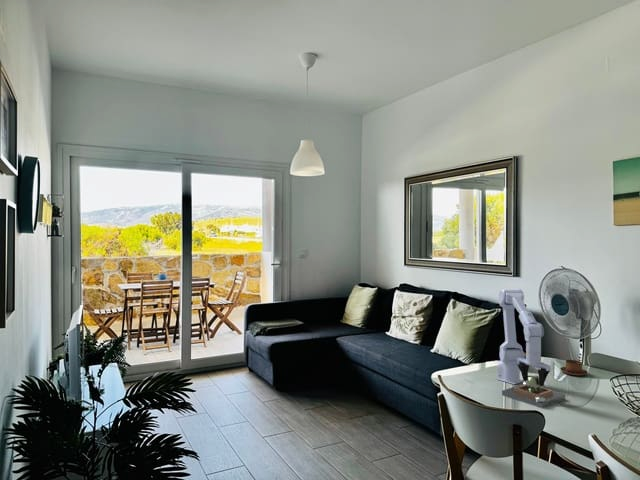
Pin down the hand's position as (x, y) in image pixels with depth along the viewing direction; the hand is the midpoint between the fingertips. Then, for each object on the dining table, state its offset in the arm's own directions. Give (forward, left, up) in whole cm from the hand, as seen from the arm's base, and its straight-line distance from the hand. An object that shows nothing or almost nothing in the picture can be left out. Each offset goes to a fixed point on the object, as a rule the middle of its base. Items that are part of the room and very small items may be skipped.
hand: (533, 383), depth 190 cm
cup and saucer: (-8, +50, -6) cm, 51 cm away
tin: (-28, +37, -6) cm, 47 cm away
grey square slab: (0, 0, -6) cm, 6 cm away
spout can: (0, 0, -4) cm, 4 cm away
